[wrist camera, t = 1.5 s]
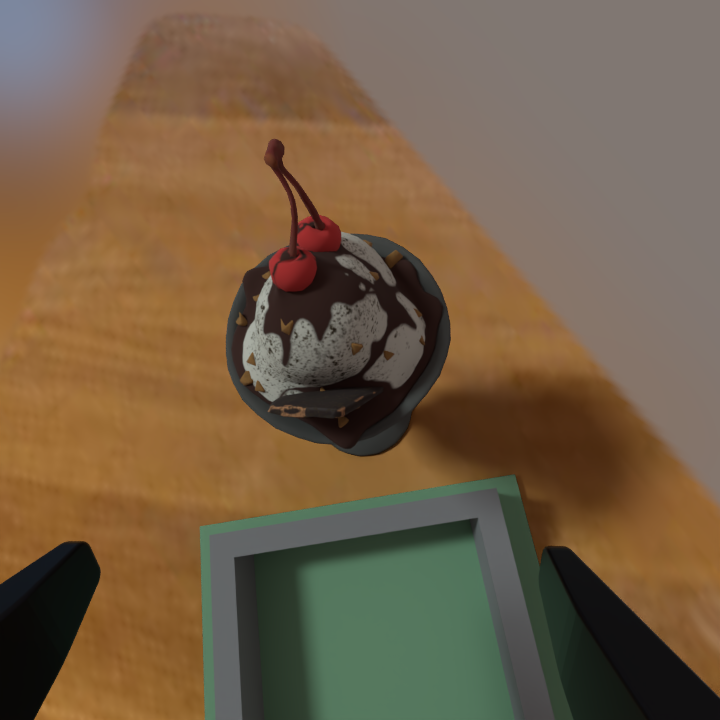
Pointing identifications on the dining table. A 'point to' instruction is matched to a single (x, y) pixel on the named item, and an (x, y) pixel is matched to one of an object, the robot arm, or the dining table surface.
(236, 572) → the rimmed mat
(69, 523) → the dining table surface
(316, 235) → the sundae
